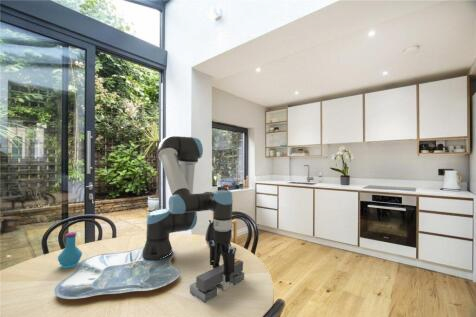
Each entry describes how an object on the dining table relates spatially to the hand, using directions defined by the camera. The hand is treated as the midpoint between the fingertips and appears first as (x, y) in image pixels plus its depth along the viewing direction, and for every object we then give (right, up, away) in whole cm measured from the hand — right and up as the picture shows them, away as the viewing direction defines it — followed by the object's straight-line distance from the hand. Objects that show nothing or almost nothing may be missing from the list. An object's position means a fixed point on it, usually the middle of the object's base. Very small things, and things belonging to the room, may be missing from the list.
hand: (221, 286), depth 89 cm
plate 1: (-6, 0, -5) cm, 8 cm away
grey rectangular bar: (0, 0, 0) cm, 0 cm away
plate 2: (+4, 0, +7) cm, 8 cm away
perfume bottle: (-74, +1, +16) cm, 75 cm away
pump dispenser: (-8, -1, +44) cm, 45 cm away
